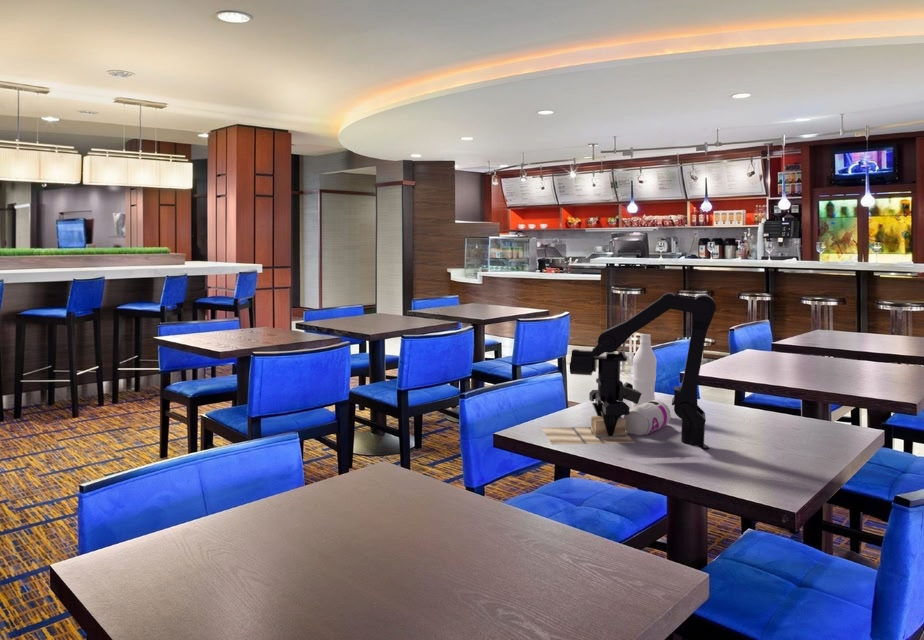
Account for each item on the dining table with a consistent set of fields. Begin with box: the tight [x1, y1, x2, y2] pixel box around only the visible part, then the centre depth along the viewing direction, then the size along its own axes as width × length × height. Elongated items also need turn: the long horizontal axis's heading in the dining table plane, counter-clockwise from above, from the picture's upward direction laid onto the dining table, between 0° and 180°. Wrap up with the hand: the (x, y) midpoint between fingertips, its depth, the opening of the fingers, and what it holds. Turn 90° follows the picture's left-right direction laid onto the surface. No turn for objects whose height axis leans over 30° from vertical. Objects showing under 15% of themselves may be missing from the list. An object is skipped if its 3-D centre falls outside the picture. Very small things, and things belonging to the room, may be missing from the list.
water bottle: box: [631, 333, 658, 408], centre depth 208 cm, size 7×7×25 cm
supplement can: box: [622, 399, 672, 436], centre depth 189 cm, size 8×8×15 cm
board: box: [541, 426, 637, 445], centre depth 183 cm, size 16×22×1 cm
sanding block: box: [590, 415, 626, 437], centre depth 183 cm, size 5×8×4 cm, turn 93°
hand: (607, 433), depth 183 cm, fingers closed on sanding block, 5 cm apart
